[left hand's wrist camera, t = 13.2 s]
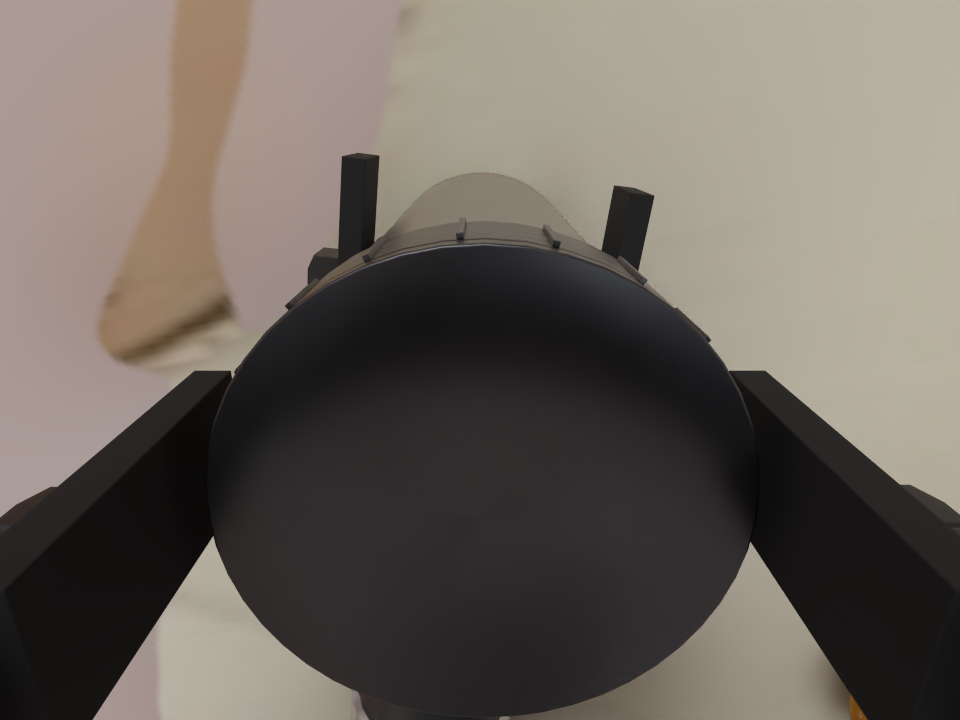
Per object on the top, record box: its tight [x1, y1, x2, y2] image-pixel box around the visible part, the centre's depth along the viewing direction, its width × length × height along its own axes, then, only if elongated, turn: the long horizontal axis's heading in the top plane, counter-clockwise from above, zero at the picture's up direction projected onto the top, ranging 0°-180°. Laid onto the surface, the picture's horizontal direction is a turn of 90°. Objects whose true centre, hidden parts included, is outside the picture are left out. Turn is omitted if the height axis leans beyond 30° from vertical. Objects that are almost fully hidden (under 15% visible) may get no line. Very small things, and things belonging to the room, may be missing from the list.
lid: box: [205, 217, 760, 718], centre depth 11 cm, size 9×9×2 cm
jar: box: [384, 173, 587, 243], centre depth 19 cm, size 8×8×19 cm
